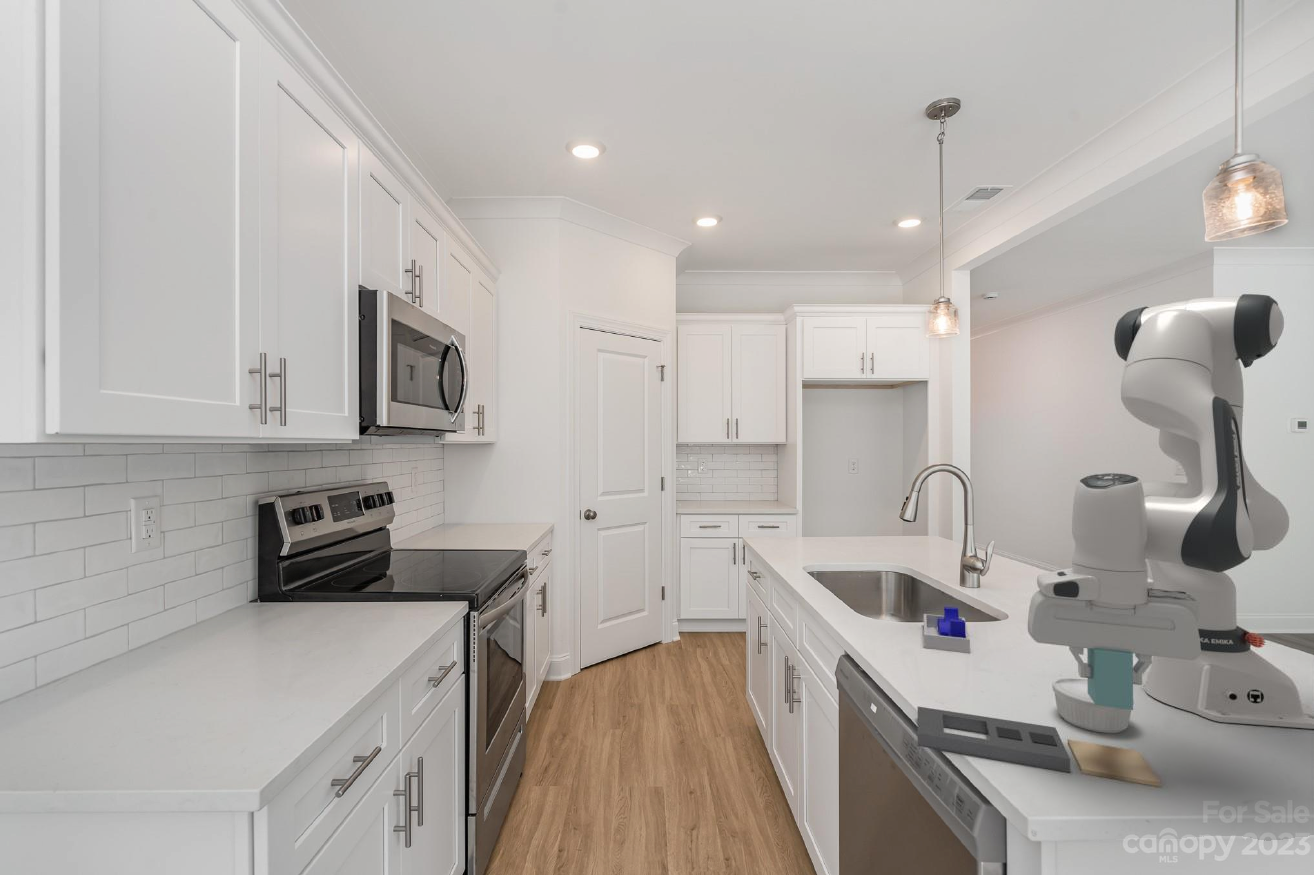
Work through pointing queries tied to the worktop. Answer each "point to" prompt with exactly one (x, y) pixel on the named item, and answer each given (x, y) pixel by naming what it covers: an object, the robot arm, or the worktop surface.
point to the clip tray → (944, 637)
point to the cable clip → (951, 624)
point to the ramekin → (1087, 708)
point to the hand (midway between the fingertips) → (1109, 679)
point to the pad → (1112, 763)
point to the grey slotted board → (993, 739)
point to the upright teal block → (1111, 678)
